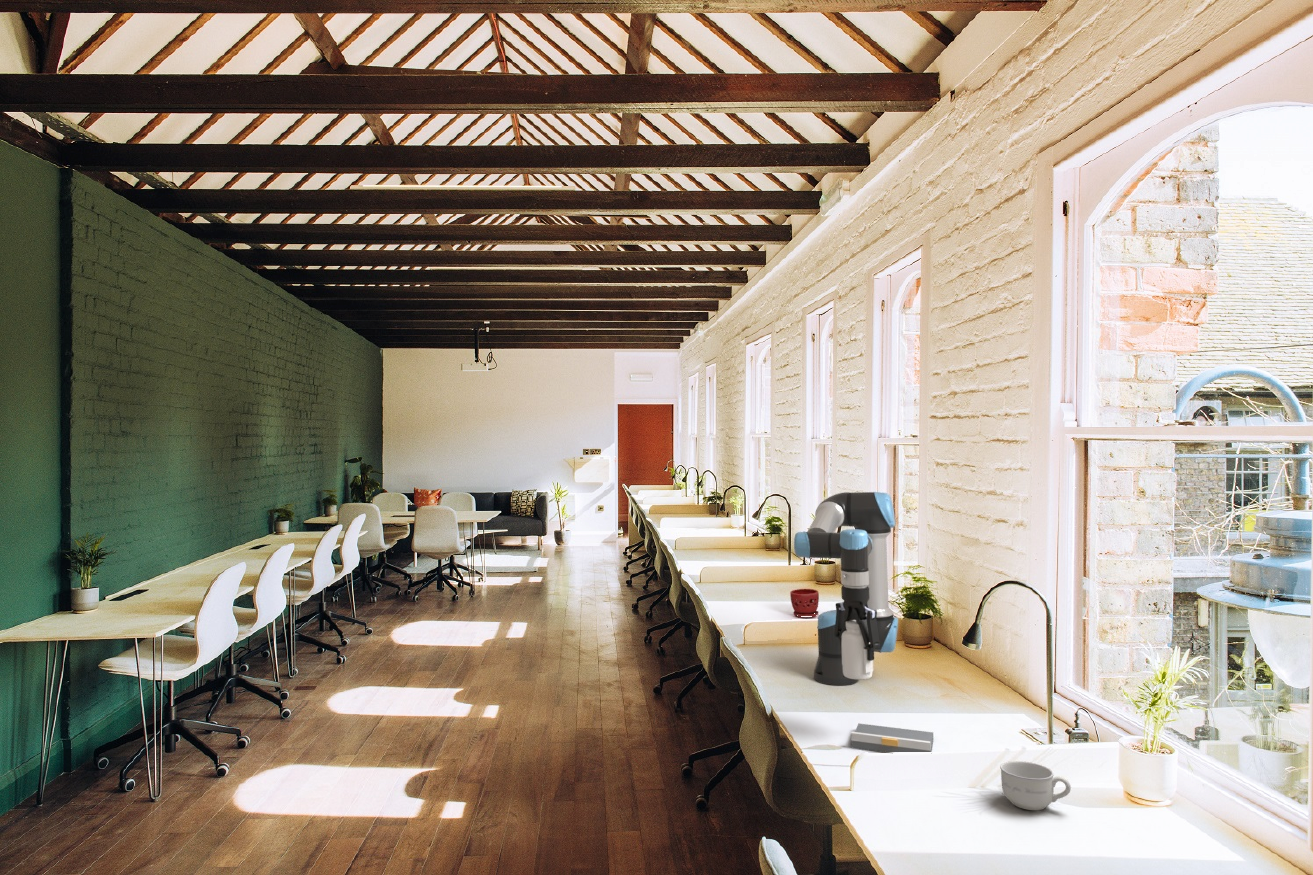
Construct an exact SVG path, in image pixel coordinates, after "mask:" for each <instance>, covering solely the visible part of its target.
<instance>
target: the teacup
mask: <svg viewBox="0 0 1313 875" xmlns="http://www.w3.org/2000/svg"><path fill="white" fill-rule="evenodd" d="M999 766H1000V767H999V768H1000V776H1001V778H1000V779H1001V789H1002V792H1003V795H1004V796H1005V798H1006V799H1007V800H1009V801H1010V803H1011V804H1012V805H1014V806H1015V807H1018V808H1020V809H1024V810H1029V811H1042V810H1044V809H1045V808H1046V807H1048V806H1049V805H1051V803H1056V802H1057V800H1060V799H1063V798H1065V797H1067V796H1068V795H1069V794H1070V793H1071V791H1072V790H1071V788H1072V787H1071V783H1070V781H1069V780H1068V779H1067V778H1066V777H1064V776H1061V775H1058V776H1054V772H1053V770H1052V769H1050V768H1048V767H1047V766H1045V765H1042V764H1040V763H1036V762H1031V761H1027V760H1026V761H1023V760H1011V761H1008V760H1007V761H1004V762H1003V763H1001V764H1000V765H999ZM1058 782H1062V783H1063V785H1065V789H1064V790H1063V791H1062V792H1059V793H1054V788H1055V787H1056V785H1057V783H1058Z"/></svg>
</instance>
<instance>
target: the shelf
mask: <svg viewBox="0 0 1313 875" xmlns="http://www.w3.org/2000/svg"><path fill="white" fill-rule="evenodd" d="M850 739H851V740H850V742H851V743H850V745H851V746H850V747H851V749H857V750H865V751H871V752H872V751H873V752H878V753H879V752H880V753H886V752H932V751H933V747H934V746H933V745H934V732H933V731H925V730H916V729H909V728H908V729H907V728H901V727H890V726H881V725H874V724H868V723H860V722H859V723H858V724H857V725H856V728H855V731H851V732H850ZM932 753H933V752H932Z"/></svg>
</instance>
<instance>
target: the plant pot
mask: <svg viewBox="0 0 1313 875" xmlns="http://www.w3.org/2000/svg"><path fill="white" fill-rule="evenodd" d="M819 593H820V592H819V590H817V589H813V588H798V589H792V590H791V591H790V593H789V594H790V595H789V596H790V602H791V606H792V609H793V610H794V611H793V615H794V616H795V617H797V618H800V619H811V618H816V617H817V616H818V615H819V611H818V608H819V602H820V601H819V600H820V595H819ZM814 613H815V614H814ZM796 615H798V616H796ZM816 615H817V616H816ZM801 616H812V617H801Z"/></svg>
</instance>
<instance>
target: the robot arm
mask: <svg viewBox="0 0 1313 875" xmlns="http://www.w3.org/2000/svg"><path fill="white" fill-rule="evenodd" d="M893 504H894V503H893V500H892V497H891V495H890V494H889V493H887V492H879V491H869V492H866V491H865V492H859V491H858V492H848V491H847V492H846V491H845V492H839V493H835V494H833V495H831V496H828V497H827V498H826V499H824V500H823V501H821V502H820V503H819V504H818V506H817V507H816V509H815V513H814V519H813V521H812V522H811V523H810V524H811V525H810V526H809V528H808V529H807V531H798V532H796V533H795V534H794V538H793V548H794V549H793V550H794V555H796V557H798V558H807V559H839V560H840V577H841V578H840V582H841V585H842V586H841V587H840V588H841V590H840V591H841V592H840V593H841V594H840V596H841V599H842V600H843V601H841V602H836V603H835V609H832V610H827V611H824V612H822V613H820V614H818V615H819V616H817V640H818V641H817V643H818V645H817V646H818V657H817V660H816V664H815V667H814V669H813V679H814V680H815V681H817V682H818V683H821V684H824V685H830V686H849V685H854V684H856V683H858V682H859V680H857V679H850V678H847V677H845V676H844V675H843V662H842V633H843V632H844V631H846V630H847V629H846V621H851V620H856V622H857V624H858V625H859V627H860V631H861V634H862V637H863V640H864V644H865V647H864V648H863V656H864V672H865V673H868V672H872V673H873V672H874V660H875V653H893V652H894V651H895V649H896V644H897V639H898V638H897V636H898V630H899V629H898V628H899V618H898V617H895V616H894V611H893V610H892V609H891V608H890V607H889V579H888V576H889V575H888V551H887V537H888V536H889V535H890V534H892V529H893V528H895V527H896V517H895V510H894V505H893ZM839 527H852V529H850V528H848V529H842V530H841V531H840V532H836V529H838V528H839ZM853 527H854V528H853ZM891 528H892V529H891ZM869 642H870V644H869Z"/></svg>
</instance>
